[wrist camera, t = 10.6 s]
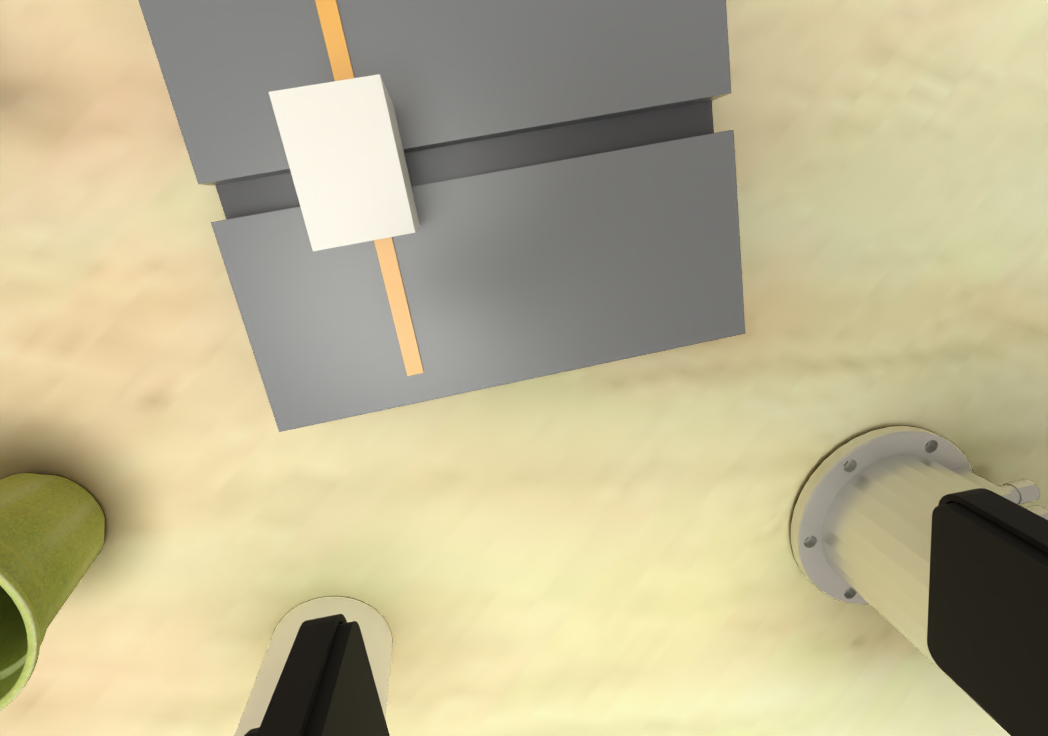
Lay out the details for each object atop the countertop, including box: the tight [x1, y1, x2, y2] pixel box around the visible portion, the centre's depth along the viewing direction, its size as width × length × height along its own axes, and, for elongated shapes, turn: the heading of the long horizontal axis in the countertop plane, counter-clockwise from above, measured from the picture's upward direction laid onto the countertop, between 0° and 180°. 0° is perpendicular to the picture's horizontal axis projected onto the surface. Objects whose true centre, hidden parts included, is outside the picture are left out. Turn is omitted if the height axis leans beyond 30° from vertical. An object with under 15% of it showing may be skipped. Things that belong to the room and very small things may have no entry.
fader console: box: [139, 0, 745, 432], centre depth 27 cm, size 24×22×3 cm
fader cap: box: [269, 74, 420, 251], centre depth 23 cm, size 4×5×8 cm
